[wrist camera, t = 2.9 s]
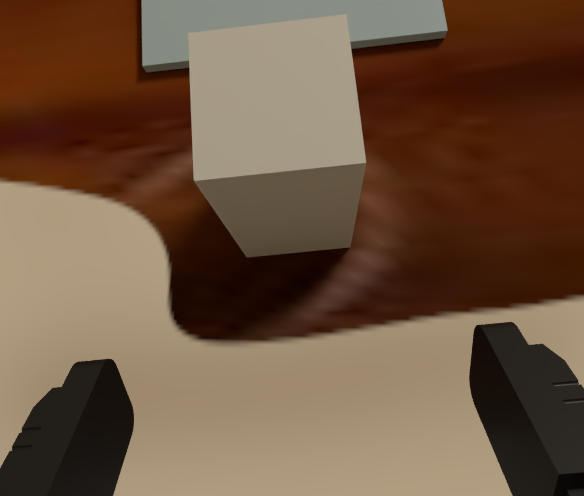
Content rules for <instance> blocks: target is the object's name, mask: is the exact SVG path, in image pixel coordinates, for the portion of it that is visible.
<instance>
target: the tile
mask: <svg viewBox="0 0 584 496" xmlns="http://www.w3.org/2000/svg"><path fill="white" fill-rule="evenodd" d="M344 14H347V21H348V28H349V36H350V44H351V49H354V48H363V47H372V46H380V45H389V44H397V43H406V42H415V41H423V40H432V39H441V38H445V36H446V33H447V31H448V30H447V25H446V20H445V14H444V9H443V4H442V0H142V66H143V68H144V70H145V71H146V73H147V72H156V71H164V70H173V69H182V68H189V43H188V33H192V32H201V31H209V30H217V29H226V28H234V27H243V26H251V25H259V24H268V23H276V22H285V21H293V20H301V19H310V18H318V17H327V16H335V15H344Z"/></svg>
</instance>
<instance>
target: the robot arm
mask: <svg viewBox="0 0 584 496" xmlns="http://www.w3.org/2000/svg"><path fill="white" fill-rule="evenodd" d="M469 380H470V389H471V395H472V398H473V402H474V405H475V407H476V410H477V412H478V414H479V417H480V419H481V422H482V424H483V426H484V428H485V431H486V433H487V436H488V438H489V441H490V443H491V445H492V448H493V450H494V452H495V455H496V457H497V460H498V462H499V464H500V467H501V469H502V472H503V474H504V476H505V479H506V480H507V483H508V486H509V488H510V491H511V493H512V495H513V496H584V388H583V387H582V385H579V383H578V379H577V378H576V377H575V375H574V374H573V372H572V371H571V369H570V368H569V366H568V365H567V363H566V362H565V360H563V359H562V358H561V357H559V356H558V355H557V354H555V353H554V352H553V351H551V350H550V349H549V348H547V347H546V346H545V345H543V344H535V345H528V344H527V342H526V340H525V339H524V337H523V335H522V334H521V332H520V330H519V329H518V327H517V326H516V325H515V324H514V323H512V322H506V323H495V324H485V325H477V326H476V327H475V329H474V335H473V345H472V355H471V366H470V376H469ZM133 426H134V413H133V407H132V404H131V401H130V399H129V396H128V394H127V391H126V389H125V386H124V384H123V381H122V379H121V376H120V373H119V371H118V368H117V366H116V364H115V362H114V361H113V360H112V359H103V360H93V361H82V362H77V363H75V364H74V365H73V366H72V368H71V370H70V372H69V374H68V376H67V378H66V380H65V382H64V384H63V386H62V387H58V388H52V389H51V390H50V391H49V392H48V393H47V394H46V395H45V396H44V397H43V398H42V399H41V400H40V401H39V402H38V403H37V404H36V405H35V406H34V407H33V409H32V411H31V413H30V415H29V416H28V418H27V420H26V422H25V424H24V426H23V427H22V433H19V435H18V437H17V438H16V441H15V442H14V444H13V446H12V451H10V452H9V453H8V455H7V457H6V459H5V460H4V462H3V464H2V466H1V468H0V496H113V494H114V491H115V487H116V484H117V481H118V478H119V474H120V471H121V468H122V465H123V461H124V458H125V455H126V452H127V449H128V445H129V442H130V439H131V436H132V432H133Z"/></svg>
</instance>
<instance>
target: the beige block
mask: <svg viewBox="0 0 584 496" xmlns="http://www.w3.org/2000/svg"><path fill="white" fill-rule="evenodd" d="M188 43H189V69H190V94H191V120H192V145H193V171H194V182H195V183H196V185H197V186H198V188H199V189H200V191H201V192H202V193H203V195H204V196H205V198H206V199H207V201H208V202H209V204H210V205H211V206H212V208H213V209H214V211H215V212H216V214H217V215H218V217H219V218H220V219H221V221H222V222H223V224H224V225H225V227H226V228H227V230H228V231H229V232H230V234H231V235H232V237H233V238H234V240H235V241H236V243H237V244H238V245H239V247H240V248H241V250H242V251H243V253H244V254H245V256H246V257H257V256H267V255H277V254H287V253H298V252H308V251H318V250H328V249H338V248H348V247H350V245H351V240H352V234H353V229H354V224H355V219H356V213H357V208H358V203H359V198H360V192H361V187H362V182H363V177H364V171H365V166H366V158H365V150H364V143H363V135H362V128H361V120H360V112H359V105H358V97H357V89H356V82H355V74H354V67H353V59H352V51H351V44H350V36H349V28H348V21H347V14H344V15H335V16H327V17H318V18H310V19H301V20H293V21H285V22H276V23H268V24H259V25H251V26H243V27H234V28H226V29H217V30H209V31H201V32H192V33H188Z"/></svg>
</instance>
